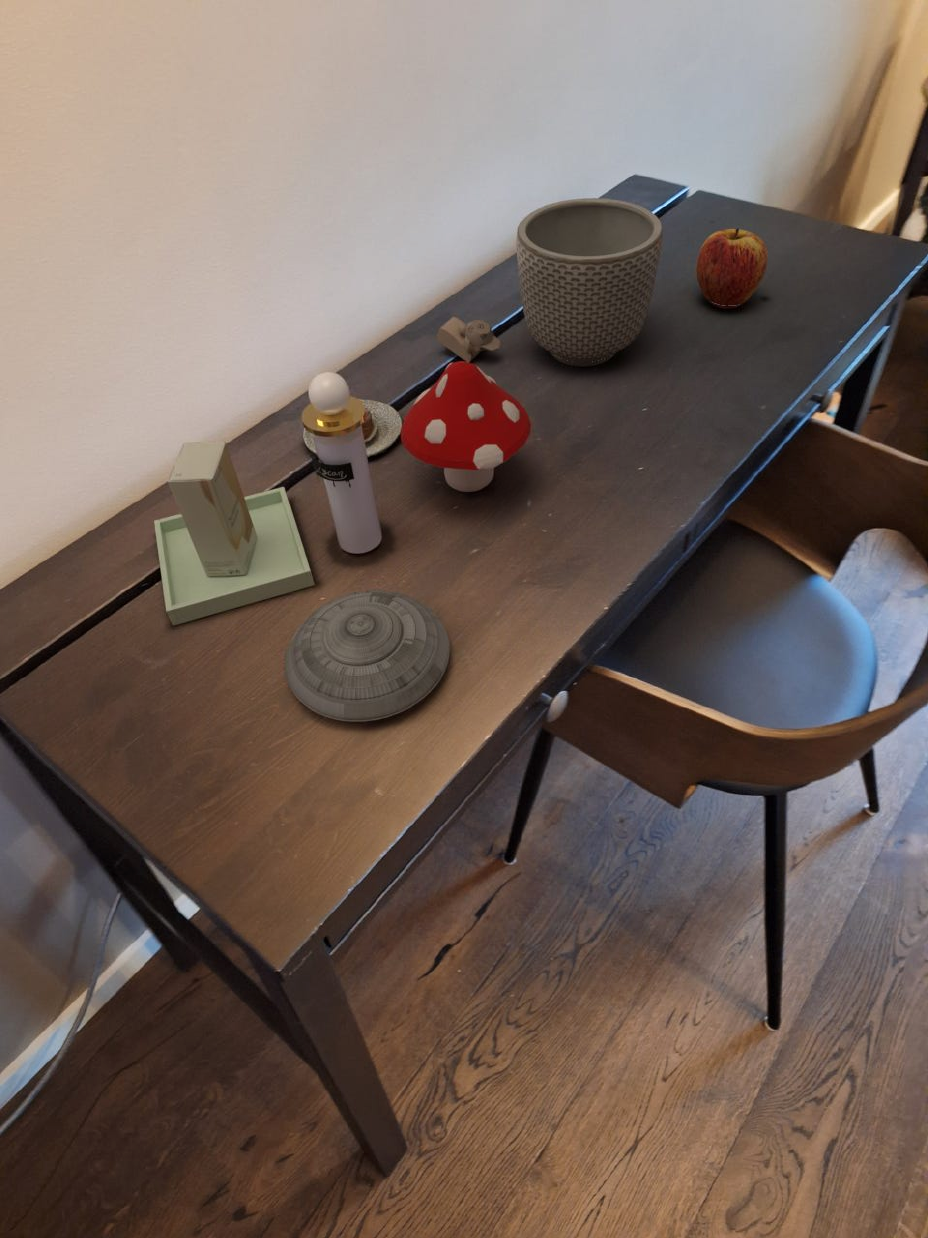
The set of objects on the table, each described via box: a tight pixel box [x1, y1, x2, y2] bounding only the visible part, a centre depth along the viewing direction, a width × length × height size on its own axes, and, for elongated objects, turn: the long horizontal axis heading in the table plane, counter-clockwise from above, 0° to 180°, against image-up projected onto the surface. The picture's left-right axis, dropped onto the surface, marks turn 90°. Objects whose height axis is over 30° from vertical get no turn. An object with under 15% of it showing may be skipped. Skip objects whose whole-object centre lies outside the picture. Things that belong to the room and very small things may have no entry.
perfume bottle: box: [301, 371, 383, 554], centre depth 78 cm, size 6×6×20 cm
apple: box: [695, 228, 768, 310], centre depth 110 cm, size 9×9×10 cm
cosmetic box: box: [167, 441, 257, 576], centre depth 80 cm, size 6×4×12 cm
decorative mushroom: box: [400, 360, 532, 493], centre depth 85 cm, size 14×14×15 cm
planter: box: [515, 197, 664, 368], centre depth 102 cm, size 17×17×16 cm
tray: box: [153, 486, 316, 626], centre depth 84 cm, size 14×14×2 cm
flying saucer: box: [284, 589, 451, 723], centre depth 73 cm, size 15×15×6 cm
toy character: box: [435, 316, 502, 363], centre depth 107 cm, size 4×8×6 cm, turn 58°
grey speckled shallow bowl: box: [302, 398, 403, 458], centre depth 97 cm, size 12×12×5 cm
